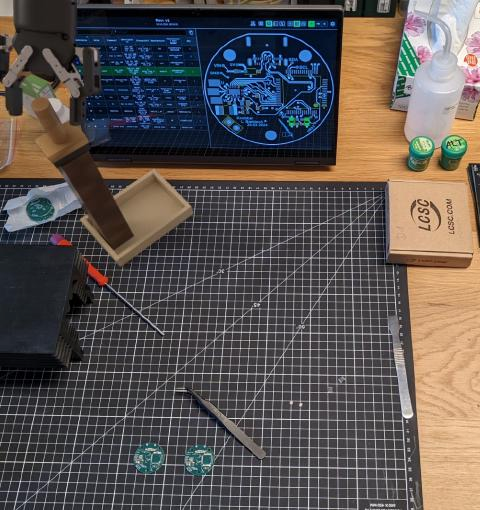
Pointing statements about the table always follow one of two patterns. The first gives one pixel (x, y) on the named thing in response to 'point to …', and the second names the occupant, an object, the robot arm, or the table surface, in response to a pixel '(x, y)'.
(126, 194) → the tray
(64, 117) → the supplement bottle
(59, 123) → the wooden stamp
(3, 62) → the robot arm
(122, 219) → the dark brown wooden bar
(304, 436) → the table surface
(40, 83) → the ink box
